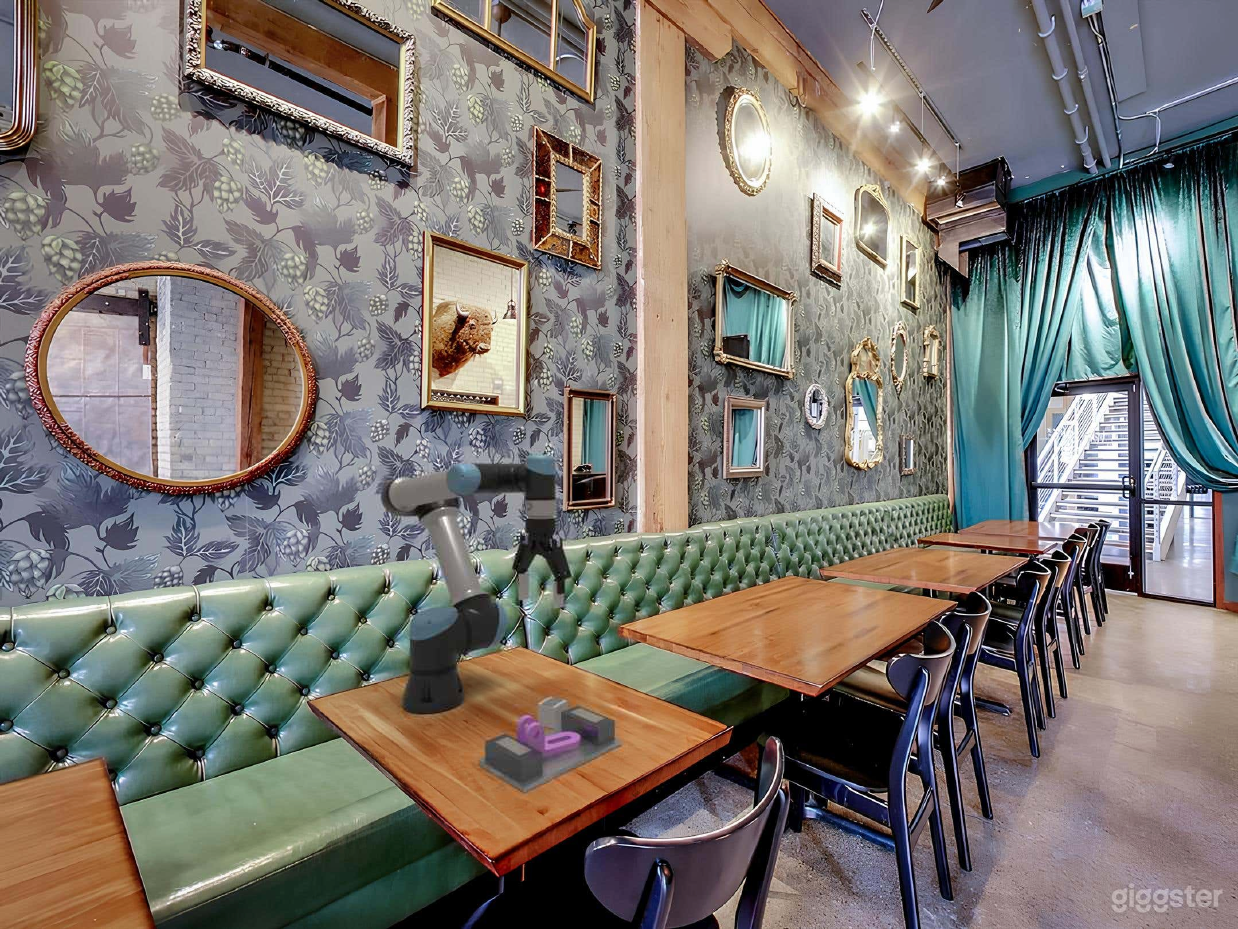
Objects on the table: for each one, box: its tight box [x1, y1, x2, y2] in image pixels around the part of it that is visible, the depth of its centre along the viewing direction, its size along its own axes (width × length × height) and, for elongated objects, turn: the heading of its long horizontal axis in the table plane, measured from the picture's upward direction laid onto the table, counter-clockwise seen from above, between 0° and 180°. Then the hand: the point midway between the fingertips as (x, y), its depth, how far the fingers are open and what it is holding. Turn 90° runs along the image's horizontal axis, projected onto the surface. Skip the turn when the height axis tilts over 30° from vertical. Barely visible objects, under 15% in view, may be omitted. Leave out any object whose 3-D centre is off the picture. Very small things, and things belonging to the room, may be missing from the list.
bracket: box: [516, 714, 580, 758], centre depth 121 cm, size 13×6×7 cm, turn 122°
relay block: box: [537, 696, 568, 730], centre depth 137 cm, size 5×5×5 cm
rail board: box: [478, 705, 622, 794], centre depth 121 cm, size 15×26×5 cm, turn 136°
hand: (540, 603), depth 144 cm, fingers open, 13 cm apart
